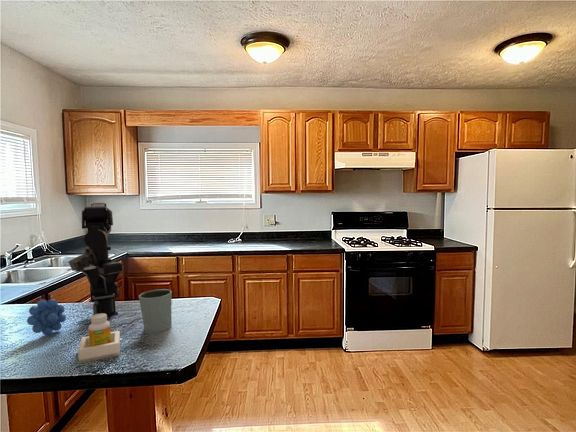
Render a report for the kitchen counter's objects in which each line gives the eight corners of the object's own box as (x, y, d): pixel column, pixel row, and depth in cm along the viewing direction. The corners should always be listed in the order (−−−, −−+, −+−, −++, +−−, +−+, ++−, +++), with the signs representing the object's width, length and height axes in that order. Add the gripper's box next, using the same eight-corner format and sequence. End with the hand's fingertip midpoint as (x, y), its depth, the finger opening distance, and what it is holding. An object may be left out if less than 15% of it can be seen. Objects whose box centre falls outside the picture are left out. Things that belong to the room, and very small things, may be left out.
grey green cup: (179, 327, 114) (177, 292, 113) (149, 337, 106) (147, 299, 106) (164, 320, 121) (162, 287, 120) (135, 329, 113) (133, 294, 113)
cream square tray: (82, 348, 100) (82, 337, 99) (120, 341, 104) (119, 330, 104) (78, 363, 91) (78, 350, 91) (119, 355, 95) (119, 342, 95)
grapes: (37, 344, 104) (34, 305, 103) (24, 340, 107) (21, 303, 106) (74, 329, 115) (72, 294, 114) (61, 327, 117) (59, 292, 116)
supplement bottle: (93, 355, 94) (91, 320, 93) (87, 349, 97) (85, 316, 97) (114, 348, 98) (112, 315, 97) (107, 343, 101) (105, 311, 101)
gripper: (57, 246, 111) (61, 293, 112) (86, 250, 100) (89, 302, 101) (93, 241, 120) (96, 285, 121) (122, 245, 109) (125, 293, 110)
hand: (100, 291), depth 113 cm, fingers open, 9 cm apart
